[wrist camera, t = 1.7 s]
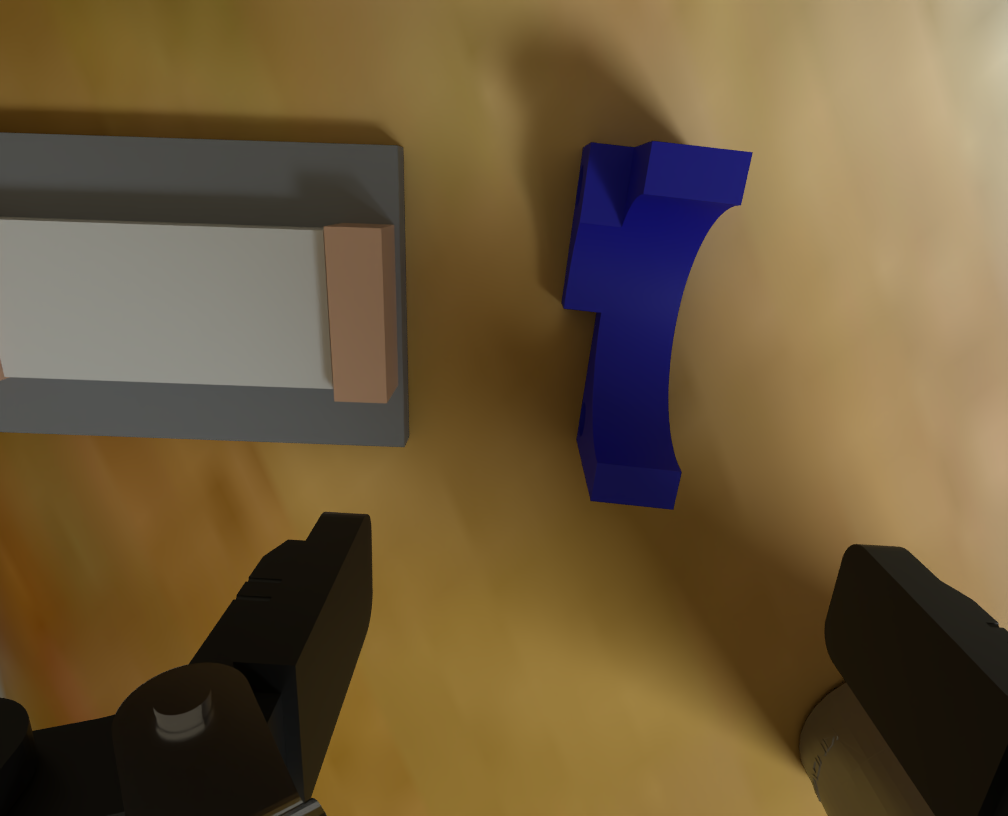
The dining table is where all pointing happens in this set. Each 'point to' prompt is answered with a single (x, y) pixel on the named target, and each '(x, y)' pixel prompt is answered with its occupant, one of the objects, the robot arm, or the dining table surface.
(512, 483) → the dining table surface
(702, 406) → the dining table surface
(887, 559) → the robot arm
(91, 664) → the dining table surface
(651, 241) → the blue curved block
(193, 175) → the rail board
